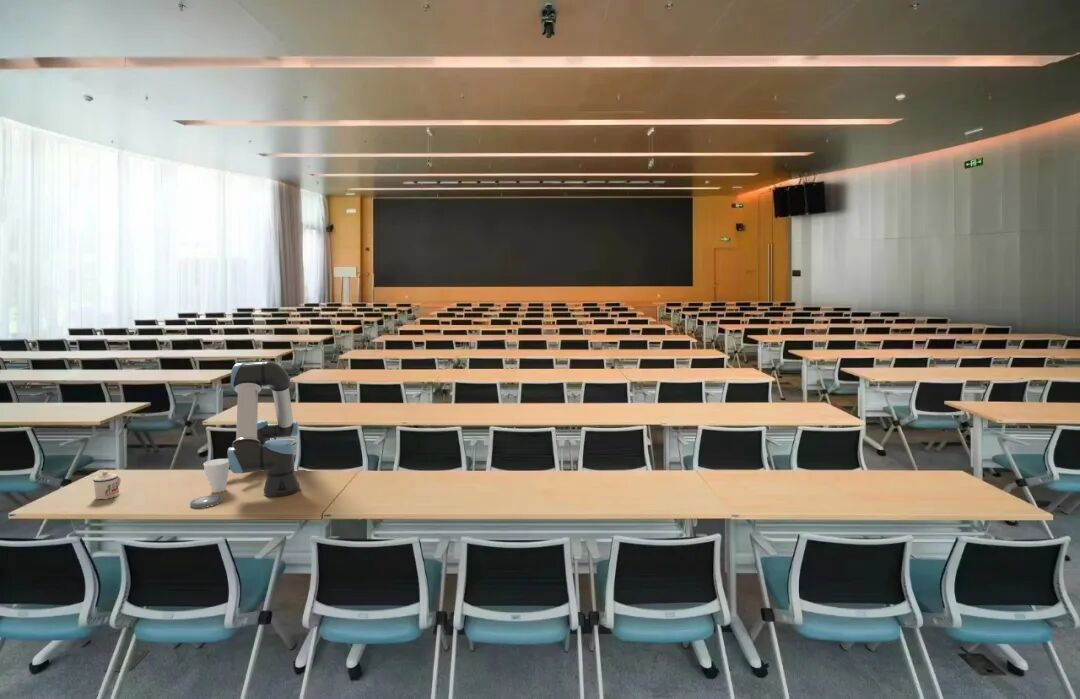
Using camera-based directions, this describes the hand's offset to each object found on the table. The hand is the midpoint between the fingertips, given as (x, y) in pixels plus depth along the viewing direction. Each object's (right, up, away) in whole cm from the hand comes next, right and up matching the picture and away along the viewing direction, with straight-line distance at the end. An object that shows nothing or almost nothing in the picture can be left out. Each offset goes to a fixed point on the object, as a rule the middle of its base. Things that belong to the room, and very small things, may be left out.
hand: (225, 469), depth 290 cm
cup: (0, -9, -6) cm, 11 cm away
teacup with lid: (-47, -10, -9) cm, 49 cm away
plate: (+3, -10, -22) cm, 24 cm away
